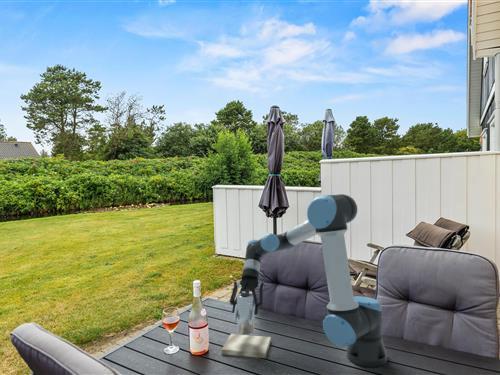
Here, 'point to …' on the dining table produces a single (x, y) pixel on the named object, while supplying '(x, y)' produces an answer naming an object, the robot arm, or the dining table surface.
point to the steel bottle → (245, 312)
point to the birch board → (247, 346)
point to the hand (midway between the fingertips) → (243, 321)
